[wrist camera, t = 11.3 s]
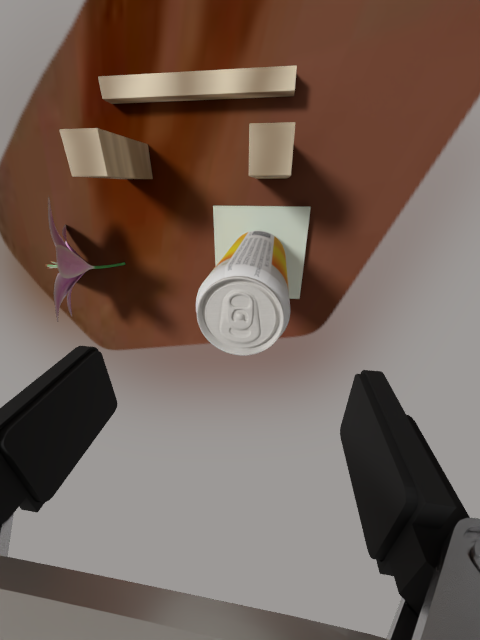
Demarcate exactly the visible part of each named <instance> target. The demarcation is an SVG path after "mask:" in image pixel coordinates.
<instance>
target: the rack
mask: <svg viewBox="0 0 480 640" xmlns="http://www.w3.org/2000/svg"><path fill="white" fill-rule="evenodd" d="M296 68H297V66H280V67H262V68H244V69H226V70H208V71H190V72H173V73H155V74H137V75H119V76H101V77H98V79H99V84H100V89H101V94H102V99H104V100H106V101H108V102H110V103H112V104H119V103H143V102H167V101H191V100H215V99H239V98H263V97H287V96H294V92H295V81H296ZM59 130H60V133H61V137H62V141H63V144H64V148H65V152H66V155H67V159H68V163H69V166H70V170H71V174H72V176H74V177H94V178H114V179H153V177H152V170H151V163H150V156H149V149H148V144H145V143H142V142H138V141H135V140H132V139H129V138H126V137H123V136H120V135H117V134H114V133H111V132H108V131H104V130H101V129H98V128H86V129H59ZM294 132H295V122H288V123H254V124H250V126H249V176H251V177H254V178H257V179H287V178H289V177H290V176H291V168H292V156H293V144H294Z"/></svg>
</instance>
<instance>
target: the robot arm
mask: <svg viewBox="0 0 480 640" xmlns="http://www.w3.org/2000/svg"><path fill="white" fill-rule="evenodd" d="M116 408H117V400H116V397H115V394H114V391H113V387H112V384H111V381H110V378H109V375H108V372H107V369H106V366H105V363H104V359H103V356H102V354H101V352H99V351H98V349H97V348H95V347H87V346H79V347H77V348H75V349H74V350H73V351H71V352H70V353H69V354H68V355H66V356H65V357H64V358H63V359H62V360H60V361H59V362H58V363H56V364H55V365H54V366H53V367H52V368H50V369H49V370H48V371H46V372H45V373H44V374H43V375H42V376H40V377H39V378H38V379H36V380H35V381H34V382H33V383H31V384H30V385H29V386H28V387H26V388H25V389H24V390H23V391H21V392H20V393H19V394H18V395H17V396H15V397H14V398H13V399H11V400H10V401H9V402H8V403H6V404H5V405H4V406H3V407H2V408H0V640H480V519H478V518H470V517H469V516H468V514H467V512H466V510H465V508H464V507H463V505H462V503H461V502H460V500H459V498H458V497H457V494H456V493H455V491H454V489H453V487H452V486H451V484H450V482H449V480H448V479H447V477H446V475H445V473H444V472H443V470H442V468H441V467H440V465H439V463H438V461H437V459H436V458H435V456H434V454H433V452H432V450H431V449H430V447H429V445H428V443H427V442H426V440H425V438H424V436H423V435H422V433H421V431H420V430H419V428H418V426H417V424H416V422H415V421H414V420H413V419H412V417H410V416H409V415H406V414H405V412H404V410H403V408H402V407H401V405H400V403H399V401H398V399H397V397H396V396H395V394H394V392H393V390H392V388H391V386H390V385H389V383H388V381H387V379H386V377H385V375H384V374H383V373H382V372H380V371H368V370H363V371H362V372H361V374H356V375H355V378H354V381H353V385H352V388H351V392H350V395H349V399H348V403H347V406H346V410H345V413H344V417H343V420H342V424H341V429H340V435H341V441H342V445H343V449H344V453H345V457H346V461H347V466H348V470H349V474H350V478H351V482H352V486H353V491H354V495H355V499H356V503H357V507H358V512H359V516H360V520H361V524H362V528H363V532H364V537H365V541H366V545H367V549H368V552H369V555H370V557H371V558H372V559H376V560H377V564H378V568H379V572H380V574H386V575H391V576H394V578H395V581H396V585H397V588H398V592H399V594H400V595H401V596H402V599H401V601H400V604H399V607H398V610H397V612H396V615H395V618H394V620H393V623H392V625H391V628H390V631H389V633H388V636H387V638H386V639H385V638H381V637H378V636H375V635H371V634H367V633H362V632H358V631H354V630H349V629H345V628H341V627H337V626H333V625H328V624H324V623H320V622H316V621H311V620H307V619H303V618H298V617H294V616H290V615H285V614H280V613H276V612H271V611H266V610H261V609H256V608H252V607H247V606H243V605H238V604H233V603H228V602H224V601H219V600H214V599H210V598H205V597H200V596H195V595H191V594H186V593H181V592H176V591H171V590H167V589H162V588H157V587H152V586H148V585H142V584H138V583H133V582H128V581H123V580H118V579H113V578H108V577H104V576H99V575H94V574H89V573H85V572H80V571H74V570H70V569H65V568H60V567H55V566H50V565H45V564H40V563H35V562H30V561H25V560H20V559H15V558H10V557H7V555H8V548H9V542H10V535H11V527H12V520H13V513H14V512H15V511H16V509H17V508H18V507H19V506H20V508H21V509H22V510H28V511H33V512H38V511H39V510H40V508H41V507H42V505H43V504H44V503H45V502H46V501H48V500H50V499H51V498H52V497H53V496H54V494H55V493H56V491H57V490H58V489H59V487H60V486H61V485H62V483H63V482H64V480H65V479H66V478H67V476H68V475H69V474H70V472H71V471H72V470H73V468H74V467H75V465H76V464H77V463H78V461H79V460H80V458H81V457H82V456H83V454H84V453H85V452H86V450H87V449H88V447H89V446H90V445H91V443H92V442H93V440H94V439H95V438H96V436H97V435H98V434H99V432H100V431H101V430H102V428H103V427H104V426H105V424H106V423H107V421H108V420H109V419H110V417H111V416H112V415H113V413H114V412H115V410H116Z"/></svg>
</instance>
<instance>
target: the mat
mask: <svg viewBox="0 0 480 640" xmlns="http://www.w3.org/2000/svg"><path fill="white" fill-rule="evenodd" d="M310 209H311V207H308V206H213V216H214V238H215V260H216V266H217V264H218V263H219V262H220V260H221V259H222V258H223V257H224V255H225V254H226V253H227V252H228V250H229V249H230V248H231V247H232V245H233V244H234V243H235V242H236V240H237V239H238V238H239V237H240V236H242V235H243V234H245V233H247V232H250V231H255V230H260V231H266V232H269V233H271V234H272V235H274V236H275V237H276V238H277V239H278V240H279V241H280V242H281V244H282V245H283V247H284V250H285V255H286V266H287V277H288V288H289V299H300V292H301V283H302V275H303V267H304V258H305V250H306V242H307V234H308V225H309V217H310Z"/></svg>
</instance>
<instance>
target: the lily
mask: <svg viewBox="0 0 480 640" xmlns="http://www.w3.org/2000/svg"><path fill="white" fill-rule="evenodd" d="M48 218H49V228H50V232H51V236H52V239H53V241H54V244H55V246H56V258H57V263H56V264H57V265H47V264H46V266H48V267H50V268H47V269H51V268H58V270H59V274H58V275H57V277H56V280H55V285H54V303H55V311H56V317H57V321H58V313H59V307H60V304H61V302H62V300H63V299H64V297H65V296H66V294H67V293H68V292H69V293H68V295H67V304H68V308H69V312H70V314H71V316H72V311H71V301H70V299H71V291H72V288H73V286H74V285H75V283H76V282H77V281H78V280H79V279H80V277H81V276H82V275H83V274H84V273H85V272H86V271H88V270H89V269H98V268H109V267H115V266H120V265H125V262H123V263H118V264H112V265H104V266H91V265H89V264H88V263H87V262H85V261H84V260H83V259H82V258H81V257H80V256H79V255H78V254H77V253H76V252H75V251H74V250H73V249H72V248H71V246H70V245H69V244H68V243H67V240H66V225H64V227H63V230H62V234H63V237H64V239H65V240H66V244H65V243H64V241H63V240H62V238H61V237H60V235H59V233H58V231H57V229H56V227H55V224H54V221H53V217H52V212H51V206H50V199H49V197H48ZM50 262H52V263H54V262H53V261H50Z"/></svg>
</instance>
